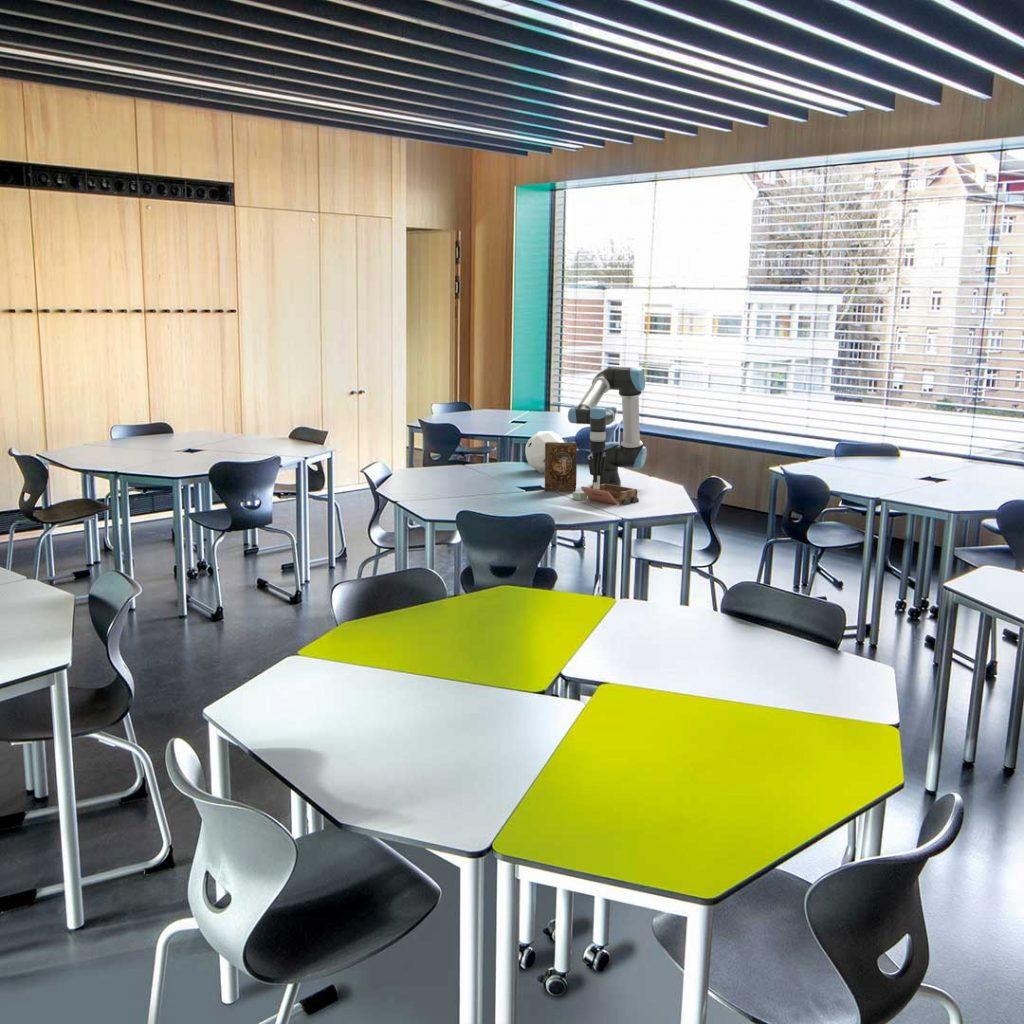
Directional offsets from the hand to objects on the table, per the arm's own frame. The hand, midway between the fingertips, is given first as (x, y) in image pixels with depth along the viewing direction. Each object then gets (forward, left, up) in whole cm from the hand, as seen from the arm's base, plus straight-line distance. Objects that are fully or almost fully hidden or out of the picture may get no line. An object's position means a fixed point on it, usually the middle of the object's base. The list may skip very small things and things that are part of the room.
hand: (596, 488), depth 475 cm
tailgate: (-6, +2, -7) cm, 10 cm away
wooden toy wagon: (-12, +4, -9) cm, 16 cm away
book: (-28, -31, -9) cm, 43 cm away
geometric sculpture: (-77, -61, -9) cm, 98 cm away
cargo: (-7, -11, -9) cm, 16 cm away
